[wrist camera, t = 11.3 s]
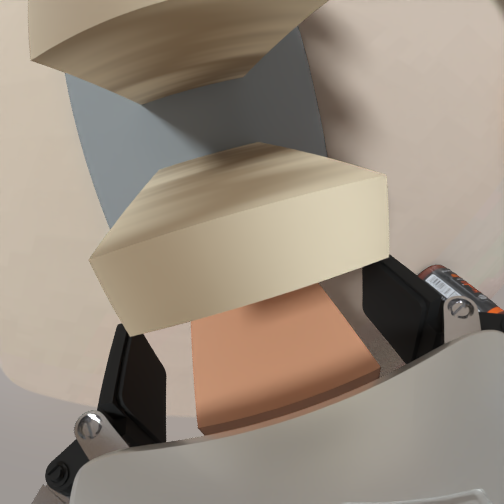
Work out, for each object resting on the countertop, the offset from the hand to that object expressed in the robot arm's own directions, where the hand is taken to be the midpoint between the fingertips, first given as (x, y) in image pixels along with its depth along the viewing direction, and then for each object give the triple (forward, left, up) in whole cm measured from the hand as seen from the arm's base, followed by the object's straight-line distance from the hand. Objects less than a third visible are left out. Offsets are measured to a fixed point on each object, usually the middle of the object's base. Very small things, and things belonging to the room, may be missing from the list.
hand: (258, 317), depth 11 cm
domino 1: (0, -10, -5) cm, 11 cm away
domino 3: (0, 0, -5) cm, 5 cm away
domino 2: (0, -5, -5) cm, 7 cm away
